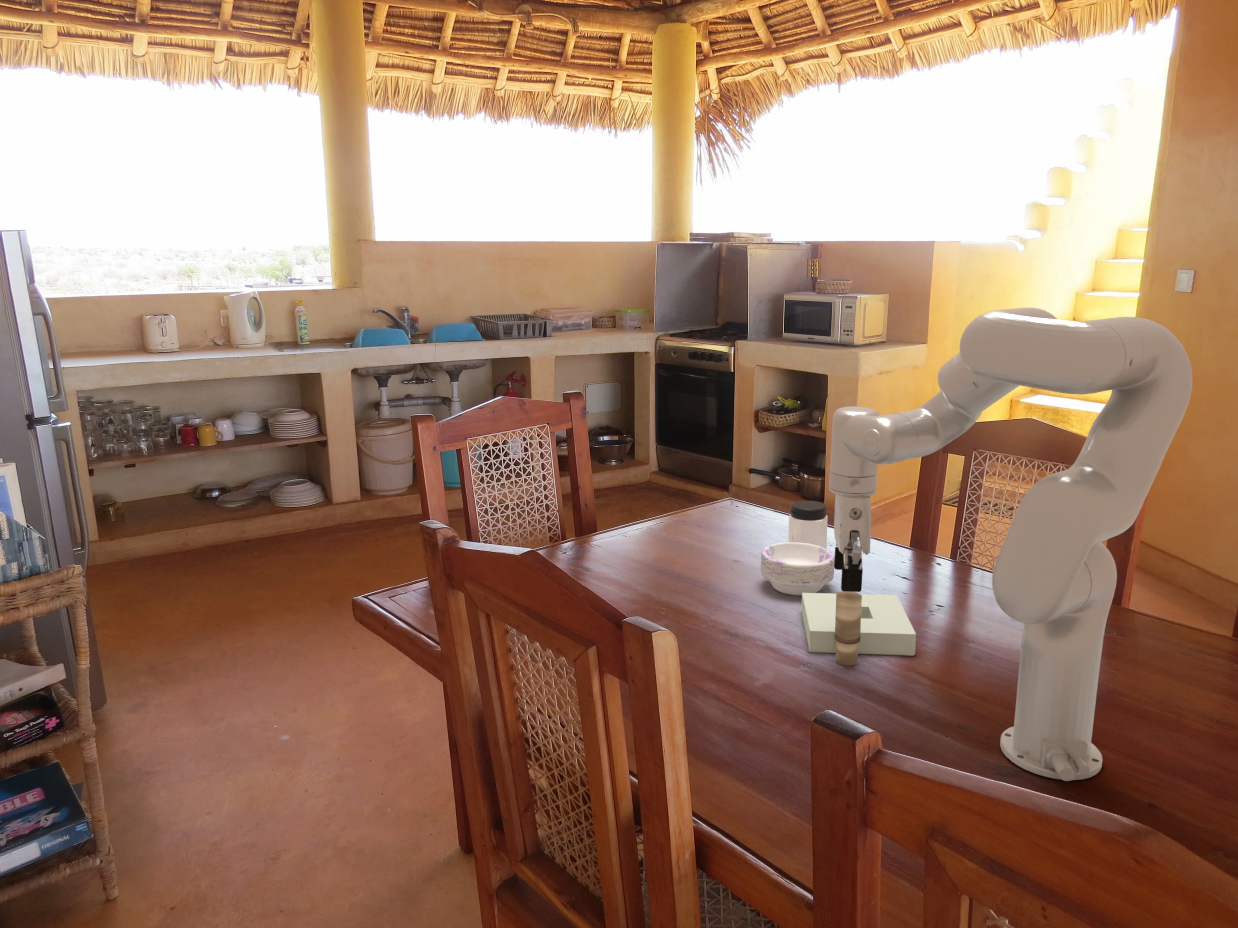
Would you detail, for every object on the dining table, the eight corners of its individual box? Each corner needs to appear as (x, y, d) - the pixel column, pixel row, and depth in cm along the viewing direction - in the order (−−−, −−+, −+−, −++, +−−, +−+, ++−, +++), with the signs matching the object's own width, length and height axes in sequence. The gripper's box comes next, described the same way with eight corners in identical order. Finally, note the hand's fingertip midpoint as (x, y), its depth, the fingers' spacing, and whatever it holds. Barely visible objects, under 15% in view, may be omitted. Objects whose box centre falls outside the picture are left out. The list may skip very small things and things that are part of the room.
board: (914, 655, 148) (916, 634, 147) (809, 651, 151) (810, 630, 150) (895, 614, 166) (896, 595, 165) (801, 611, 168) (802, 592, 167)
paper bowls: (848, 594, 176) (850, 557, 175) (785, 606, 171) (786, 569, 169) (806, 571, 190) (807, 537, 188) (747, 581, 185) (747, 546, 183)
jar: (781, 551, 203) (782, 503, 201) (807, 545, 207) (809, 498, 204) (806, 562, 196) (807, 512, 193) (833, 556, 199) (835, 506, 197)
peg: (861, 666, 145) (863, 600, 142) (835, 665, 145) (837, 600, 142) (857, 655, 149) (860, 591, 146) (832, 654, 149) (834, 590, 147)
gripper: (885, 497, 131) (878, 601, 135) (868, 469, 148) (862, 562, 152) (835, 496, 132) (830, 599, 136) (824, 468, 149) (819, 560, 153)
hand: (847, 579), depth 144 cm, fingers open, 9 cm apart
